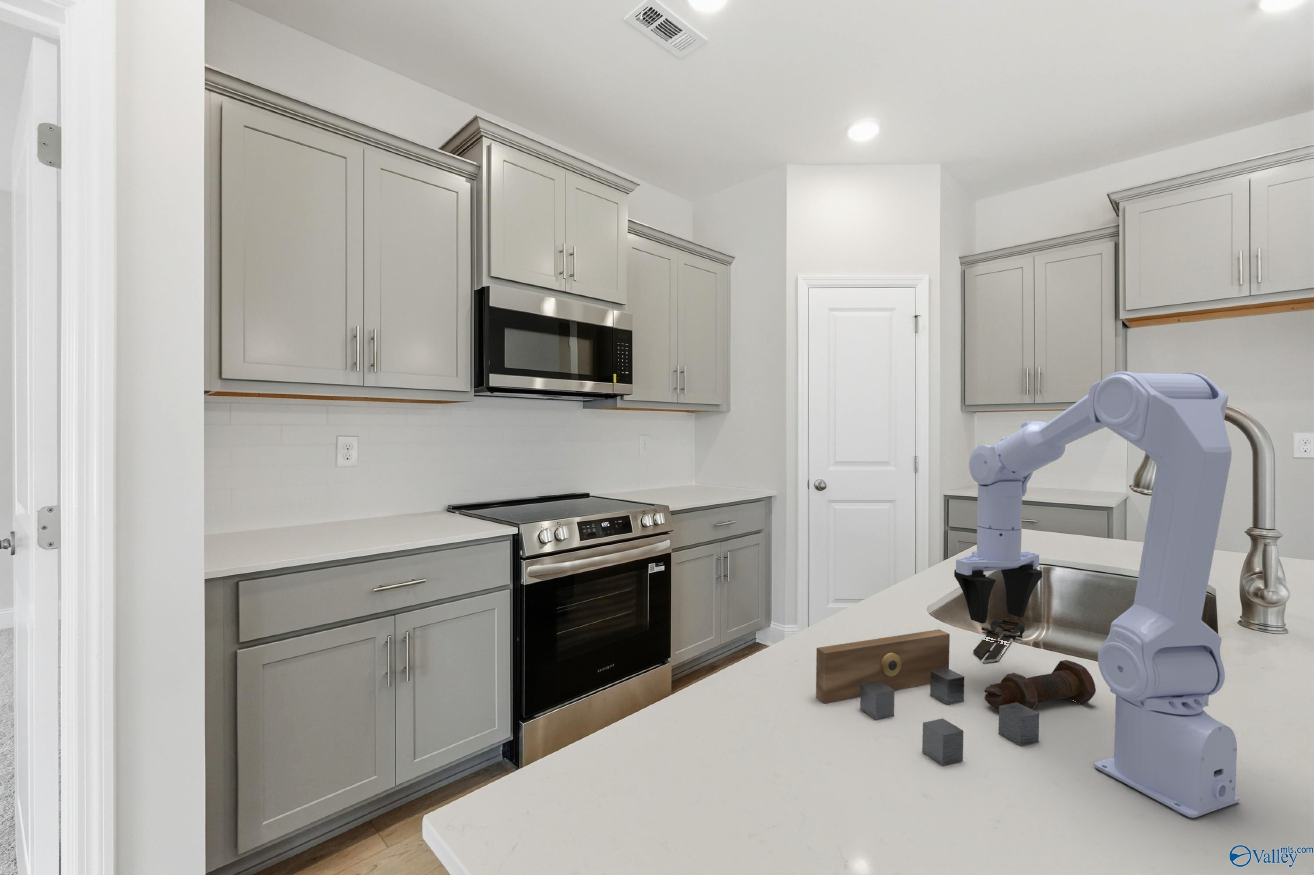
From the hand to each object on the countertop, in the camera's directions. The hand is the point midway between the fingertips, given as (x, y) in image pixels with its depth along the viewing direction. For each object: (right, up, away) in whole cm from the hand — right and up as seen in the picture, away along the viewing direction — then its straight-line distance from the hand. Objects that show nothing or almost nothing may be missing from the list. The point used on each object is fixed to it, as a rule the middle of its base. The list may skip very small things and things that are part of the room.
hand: (997, 618), depth 90 cm
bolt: (+1, -10, -7) cm, 12 cm away
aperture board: (-18, -10, -2) cm, 20 cm away
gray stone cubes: (-14, -10, -13) cm, 21 cm away
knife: (+10, -10, +16) cm, 21 cm away
